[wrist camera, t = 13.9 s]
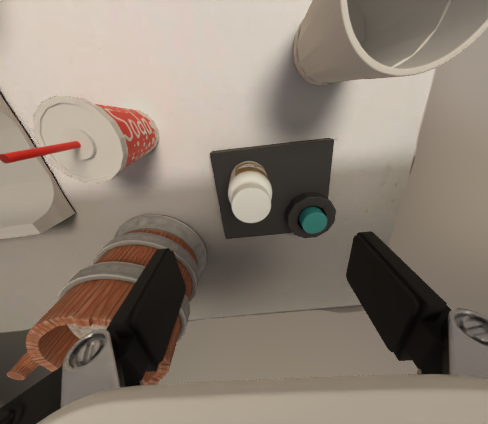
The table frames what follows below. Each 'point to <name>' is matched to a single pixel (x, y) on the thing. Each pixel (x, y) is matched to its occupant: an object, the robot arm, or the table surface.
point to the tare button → (312, 220)
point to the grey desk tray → (26, 186)
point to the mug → (114, 292)
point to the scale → (279, 185)
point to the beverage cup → (88, 138)
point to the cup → (383, 37)
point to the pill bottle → (250, 192)
